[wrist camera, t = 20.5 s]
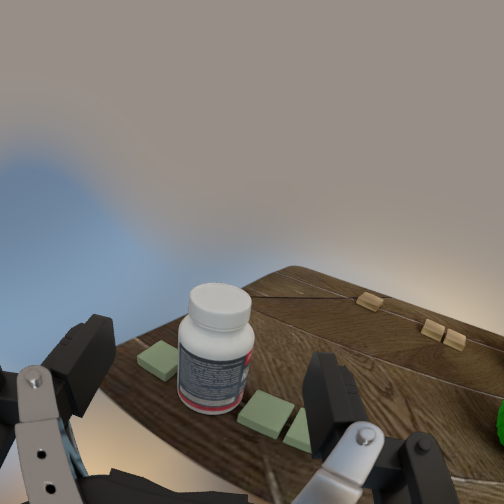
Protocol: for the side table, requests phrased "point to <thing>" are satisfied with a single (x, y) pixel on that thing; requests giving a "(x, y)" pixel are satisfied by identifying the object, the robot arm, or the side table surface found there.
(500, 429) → the ornament
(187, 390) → the pill bottle
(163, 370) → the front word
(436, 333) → the set of tan tiles
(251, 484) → the side table surface
